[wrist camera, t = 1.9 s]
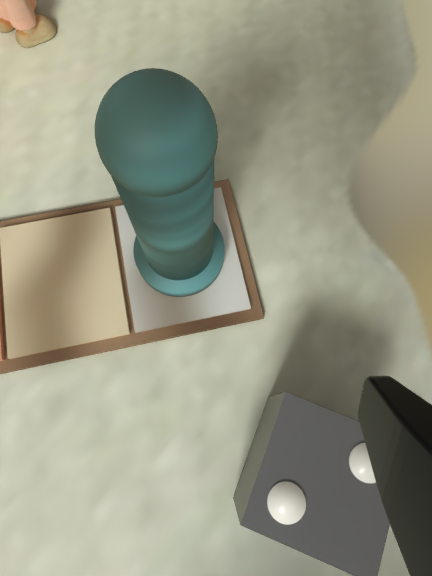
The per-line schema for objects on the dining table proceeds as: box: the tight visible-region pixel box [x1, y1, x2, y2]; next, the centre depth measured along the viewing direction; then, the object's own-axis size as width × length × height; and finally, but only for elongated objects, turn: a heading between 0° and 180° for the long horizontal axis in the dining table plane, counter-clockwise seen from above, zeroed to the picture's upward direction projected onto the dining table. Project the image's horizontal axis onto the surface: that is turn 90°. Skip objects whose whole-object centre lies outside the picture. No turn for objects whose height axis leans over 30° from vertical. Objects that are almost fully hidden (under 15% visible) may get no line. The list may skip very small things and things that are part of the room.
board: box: [0, 179, 264, 374], centre depth 22 cm, size 20×9×1 cm, turn 102°
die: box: [233, 392, 390, 576], centre depth 17 cm, size 5×5×5 cm
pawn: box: [95, 68, 225, 297], centre depth 17 cm, size 5×5×12 cm
